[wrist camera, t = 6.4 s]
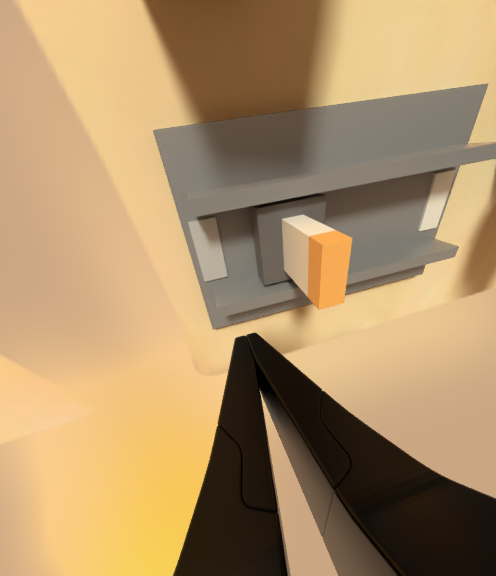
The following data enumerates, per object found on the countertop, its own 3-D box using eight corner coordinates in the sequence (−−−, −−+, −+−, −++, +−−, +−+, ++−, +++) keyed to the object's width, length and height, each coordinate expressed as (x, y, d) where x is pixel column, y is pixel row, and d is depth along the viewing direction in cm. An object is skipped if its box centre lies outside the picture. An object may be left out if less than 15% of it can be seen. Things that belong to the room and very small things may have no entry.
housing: (473, 87, 16) (545, 69, 13) (414, 270, 25) (449, 287, 22) (155, 132, 13) (144, 122, 10) (212, 323, 22) (216, 352, 19)
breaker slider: (312, 191, 16) (387, 210, 10) (310, 261, 20) (366, 309, 13) (249, 203, 16) (288, 231, 10) (257, 274, 19) (291, 329, 13)
